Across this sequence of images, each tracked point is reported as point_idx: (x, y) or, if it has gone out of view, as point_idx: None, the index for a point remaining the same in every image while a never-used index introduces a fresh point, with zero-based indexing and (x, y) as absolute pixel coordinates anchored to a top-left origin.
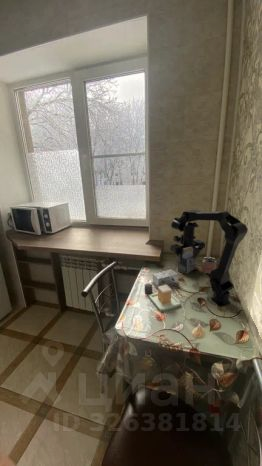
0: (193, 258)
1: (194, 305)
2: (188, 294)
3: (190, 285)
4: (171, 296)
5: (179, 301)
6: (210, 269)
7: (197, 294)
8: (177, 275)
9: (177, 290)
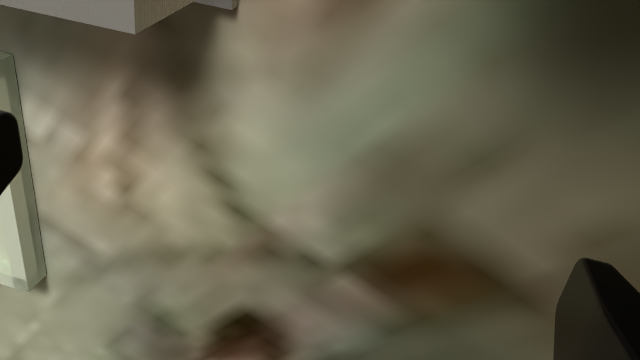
0: (573, 293)
1: (150, 337)
2: (203, 226)
3: (355, 134)
4: None
5: (23, 271)
6: None
7: (287, 282)
8: (148, 25)
9: (136, 104)
